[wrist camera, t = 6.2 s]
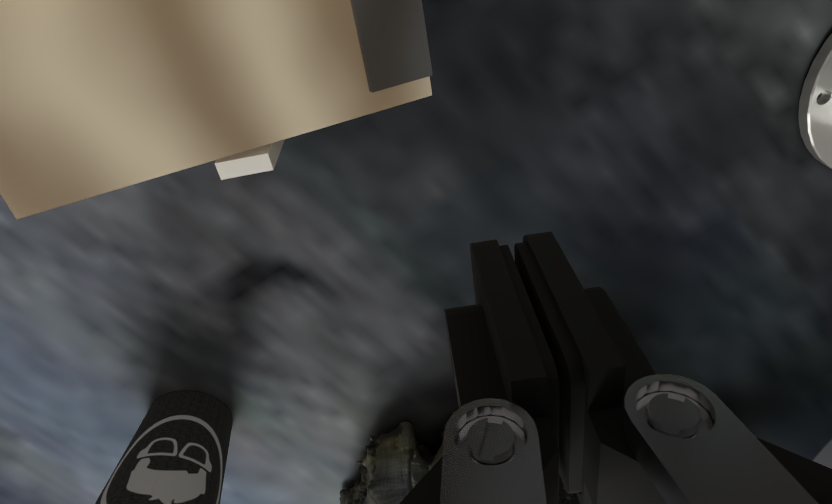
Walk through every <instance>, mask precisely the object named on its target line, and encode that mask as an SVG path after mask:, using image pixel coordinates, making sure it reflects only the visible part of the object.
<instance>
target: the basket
mask: <svg viewBox="0 0 832 504" xmlns="http://www.w3.org/2000/svg"><path fill="white" fill-rule="evenodd" d="M447 422H448V421H447ZM447 422H446V424H447ZM446 424H445V428H446ZM444 432H445V429H443V434H442V435H441V437H442V441H444ZM370 440H371V441H373V442H374V443H375V447H371V446H366V449H367V456H366V457H364V458H361V459H362V460H363V461H357V463H359V465H361V467H359V468H361V471H360V472H361V473H362V475H361V477H362V478H361V480H356V481H355V484H354V487H353V488H350V489H342V490H341V491H340V496H341V497H340V503H341V504H399V503H400V502H401V501H402V500H403V499H404V498H405V497H406V496H407V495H408V493H409V492H410V491H411V490H412V489H413V488H414V487H415V486H416V485H417V484H418V482H419V481H420V480H421V479H422V478H423V477H424V476H425V475H426V474H427V473H428V471H429V470H430V469H431V468H432V467H433V466H434V465H435V464H436V463H437V462H438V461H439V459H440V458H441V457H442V456H443V442H442V445H441V447H440V449H439V450H438V451H437V454H435V455H432V453H431V451H430V449H429V448H427V447H425V446H424V445H419V444H418V443H417V436H416V431H415V429H414V427H413V425H412V424H411V423H410V422H405V421H404V422H402V423H399V426H398V428H397V429H394V430H393V431H390V432H389V433H388V434H381V435H380V436H379V437H378V438H375V436H370ZM559 504H580V501H579V498H578V495H577V493H570V494H568V493H567V492H566V490H565V488H564V485H563V482H562V479H561V476H560V473H559Z"/></svg>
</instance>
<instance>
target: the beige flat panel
mask: <svg viewBox="0 0 832 504" xmlns="http://www.w3.org/2000/svg"><path fill="white" fill-rule="evenodd" d="M432 75H433V74H432V68H431V61H430V54H429V47H428V40H427V34H426V27H425V20H424V13H423V7H422V0H0V194H1V196H2V197H3V199H4V200H5V202H6V203H7V205H8V207H9V208H10V210H11V211H12V213H13V214H14V216H15V218H16V219H19V218H23V217H26V216H30V215H33V214H36V213H40V212H43V211H46V210H50V209H53V208H56V207H60V206H63V205H66V204H70V203H73V202H76V201H80V200H83V199H86V198H90V197H93V196H96V195H100V194H103V193H107V192H110V191H113V190H117V189H120V188H123V187H127V186H130V185H133V184H137V183H140V182H143V181H147V180H150V179H153V178H157V177H160V176H163V175H167V174H170V173H173V172H177V171H180V170H183V169H187V168H190V167H194V166H197V165H200V164H204V163H207V162H210V161H214V160H217V159H220V158H224V157H227V156H230V155H234V154H237V153H240V152H244V151H247V150H250V149H254V148H257V147H260V146H264V145H267V144H271V143H274V142H277V141H281V140H284V139H287V138H291V137H294V136H297V135H301V134H304V133H307V132H311V131H314V130H317V129H321V128H324V127H327V126H331V125H334V124H337V123H341V122H344V121H347V120H351V119H354V118H358V117H361V116H364V115H368V114H371V113H374V112H378V111H381V110H384V109H388V108H391V107H394V106H398V105H401V104H404V103H408V102H411V101H414V100H418V99H421V98H424V97H428V96H431V95H432V91H431V84H430V77H429V76H432Z"/></svg>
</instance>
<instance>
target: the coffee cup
mask: <svg viewBox="0 0 832 504" xmlns="http://www.w3.org/2000/svg"><path fill="white" fill-rule="evenodd" d="M231 429H232V417H231V414H230V412H229V410H228V409H227V408H226V406H225V405H224V404H222V403H221V402H220V401H219V400H217V399H215V398H213V397H211V396H209V395H207V394H203V393H200V392H194V391H177V392H172V393H169V394H166V395H164V396H162V397H160V398H158V399H157V400H156V401H155V402H154V403H153V404H152V406H151V407H150V409H149V411H148V412H147V414H146V416H145V418H144V419H143V421H142V423H141V425H140V426H139V428H138V430H137V432H136V433H135V435H134V437H133V439H132V440H131V442H130V444H129V446H128V447H127V449H126V451H125V453H124V454H123V456H122V458H121V460H120V461H119V463H118V465H117V467H116V468H115V470H114V472H113V473H112V475H111V477H110V479H109V480H108V482H107V484H106V486H105V487H104V489H103V491H102V493H101V494H100V496H99V498H98V499H97V501H96V503H95V504H220V499H221V492H222V486H223V479H224V473H225V467H226V460H227V454H228V448H229V441H230V435H231Z"/></svg>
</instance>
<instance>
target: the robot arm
mask: <svg viewBox="0 0 832 504" xmlns="http://www.w3.org/2000/svg"><path fill="white" fill-rule="evenodd" d="M798 120H799V127H800V133H801V136H802V139H803V141H804V143H805V146H806V148H807V149H808V150H809V152H810V153H811V154H812V155H813V156H814V158H815V159H817V160H818V161H820V162H821V163H823V164H824V165H826V166H827V167H829V168H831V169H832V33H831V35H830V36H829V37H828V38H827V40H826V41H825V43H824V44H823V46H822V48H821V49H820V51H819V52H818V54H817V56H816V57H815V59H814V61H813V63H812V65H811V67H810V70H809V72H808V74H807V77H806V79H805V81H804V85H803V89H802V93H801V97H800V101H799V115H798ZM470 250H471V261H472V271H473V282H474V292H475V302H476V305H471V306H464V307H457V308H450V309H444V311H445V319H446V326H447V333H448V341H449V348H450V354H451V361H452V368H453V374H454V380H455V386H456V392H457V398H458V404H459V409H458V410H457V411H455V412H454V413H453V414H452V416H451V417H450V419H449V420H448V422H447V424H446V428H445V432H444V441H443V456H442V457H441V458H440V459H439V461H438V462H437V463H436V464H435V465H434V466H433V467H432V468H431V469H430V470H429V471H428V473H427V474H426V475H425V476H424V477H423V478H422V479H421V480H420V481H419V482H418V484H417V485H416V486H415V487H414V488H413V489H412V490H411V491H410V492H409V493H408V495H407V496H406V497H405V498H404V499H403V500H402V501H401V502H400V503H399V504H559V473H560V476H561V479H562V482H563V485H564V488H565V490H566V492H567V493H568V494H570V493H577V495H578V498H579V501H580V504H832V469H830V468H828V467H826V466H823V465H821V464H818V463H816V462H814V461H811V460H809V459H807V458H804V457H802V456H799V455H797V454H795V453H792V452H790V451H788V450H785V449H783V448H780V447H778V446H776V445H773V444H771V443H769V442H766V441H764V440H761V439H759V438H757V437H755V436H754V435H753V434H752V433H751V432H750V430H749V429H748V428H747V427H746V426H745V425H744V424H743V423H742V422H741V421H740V420H739V419H738V418H737V417H736V416H735V415H734V414H733V412H732V411H731V410H730V409H729V408H728V407H727V406H726V405H725V404H724V403H723V402H722V401H721V400H720V399H719V398H718V397H717V396H716V395H715V394H714V393H713V392H711V391H710V390H709V389H708V388H707V387H705V386H703V385H701V384H699V383H697V382H696V381H694V380H692V379H688V378H685V377H681V376H678V375H669V374H657V375H656V374H655V372H654V370H653V369H652V367H651V366H650V364H649V362H648V361H647V359H646V357H645V356H644V354H643V352H642V351H641V349H640V348H639V346H638V344H637V343H636V341H635V339H634V338H633V336H632V335H631V333H630V331H629V330H628V328H627V326H626V325H625V323H624V322H623V320H622V318H621V317H620V315H619V313H618V312H617V310H616V308H615V307H614V305H613V304H612V302H611V300H610V299H609V297H608V295H607V294H606V292H605V291H604V290H603V289H602V288H600V287H596V288H589V289H583V287H582V285H581V284H580V282H579V280H578V278H577V276H576V275H575V273H574V271H573V269H572V268H571V266H570V264H569V262H568V260H567V259H566V257H565V255H564V253H563V251H562V250H561V248H560V246H559V244H558V242H557V241H556V239H555V237H554V235H553V234H552V232H545V233H538V234H531V235H524V237H523V243H517V244H515V247H514V251H515V262H514V259H513V257H512V254H511V252H510V249H509V247H508V245H503V246H499V244H498V242H497V240H490V241H483V242H477V243H471V244H470Z"/></svg>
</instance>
